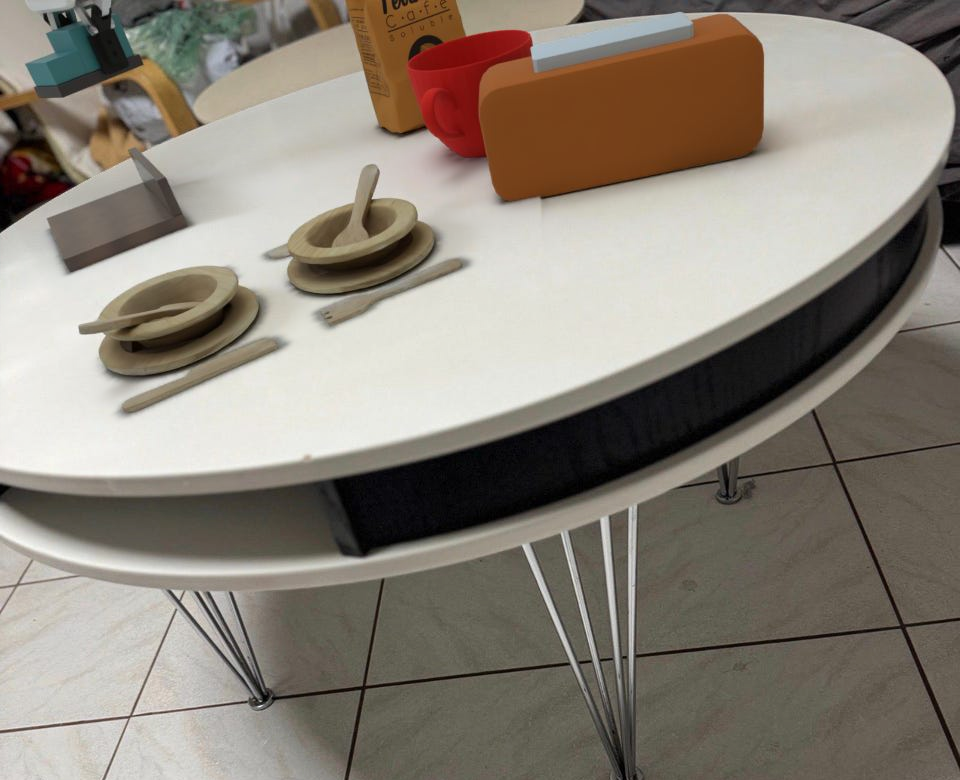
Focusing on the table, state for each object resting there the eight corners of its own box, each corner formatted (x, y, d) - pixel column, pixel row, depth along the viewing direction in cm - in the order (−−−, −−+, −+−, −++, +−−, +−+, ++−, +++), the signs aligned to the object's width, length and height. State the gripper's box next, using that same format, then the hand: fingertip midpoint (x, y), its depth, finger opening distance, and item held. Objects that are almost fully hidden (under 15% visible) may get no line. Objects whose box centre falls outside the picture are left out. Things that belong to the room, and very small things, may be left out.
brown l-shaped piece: (72, 275, 85) (42, 223, 82) (54, 232, 99) (27, 185, 95) (189, 229, 89) (165, 177, 85) (157, 193, 102) (135, 146, 99)
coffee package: (490, 112, 99) (448, -104, 85) (395, 145, 97) (336, -72, 83) (462, 97, 107) (419, -104, 93) (373, 127, 105) (316, -74, 91)
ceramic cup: (390, 190, 85) (362, 89, 79) (462, 129, 96) (442, 37, 90) (502, 186, 79) (480, 78, 73) (565, 122, 90) (551, 23, 84)
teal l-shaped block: (62, 97, 89) (35, 42, 86) (38, 98, 92) (11, 44, 89) (144, 64, 95) (121, 11, 92) (119, 66, 98) (96, 14, 95)
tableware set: (123, 421, 59) (81, 351, 55) (93, 326, 74) (58, 266, 70) (478, 266, 67) (462, 196, 63) (387, 208, 81) (369, 148, 78)
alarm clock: (742, 125, 78) (740, -8, 71) (764, 154, 72) (765, 11, 65) (496, 176, 82) (472, 54, 75) (496, 208, 75) (470, 78, 68)
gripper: (-54, -97, 86) (38, 84, 97) (23, -123, 76) (116, 81, 88) (10, -112, 90) (91, 63, 101) (91, -139, 81) (171, 58, 92)
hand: (102, 69), depth 94 cm, fingers closed on teal l-shaped block, 5 cm apart
